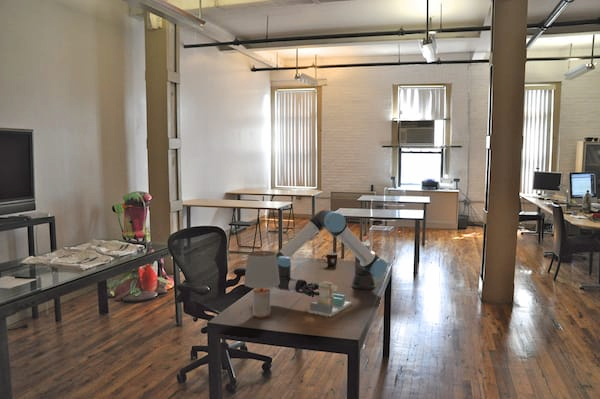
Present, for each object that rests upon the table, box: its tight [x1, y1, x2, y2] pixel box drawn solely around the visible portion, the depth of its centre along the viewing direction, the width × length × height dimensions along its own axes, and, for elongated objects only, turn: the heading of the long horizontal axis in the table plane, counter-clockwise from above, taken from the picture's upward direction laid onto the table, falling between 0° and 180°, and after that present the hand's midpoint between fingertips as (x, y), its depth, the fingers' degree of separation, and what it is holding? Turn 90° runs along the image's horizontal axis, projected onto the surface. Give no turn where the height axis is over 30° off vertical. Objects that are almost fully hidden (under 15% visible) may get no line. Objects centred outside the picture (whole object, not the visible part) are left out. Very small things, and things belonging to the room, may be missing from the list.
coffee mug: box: [321, 252, 339, 268], centre depth 372 cm, size 12×9×10 cm
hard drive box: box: [361, 241, 371, 251], centre depth 361 cm, size 16×8×20 cm, turn 168°
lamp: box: [243, 250, 280, 319], centre depth 258 cm, size 19×19×34 cm
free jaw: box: [333, 292, 346, 306], centre depth 278 cm, size 8×12×4 cm
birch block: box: [318, 281, 334, 308], centre depth 268 cm, size 6×6×14 cm
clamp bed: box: [307, 300, 352, 318], centre depth 272 cm, size 25×14×6 cm, turn 148°
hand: (331, 291), depth 266 cm, fingers open, 13 cm apart
